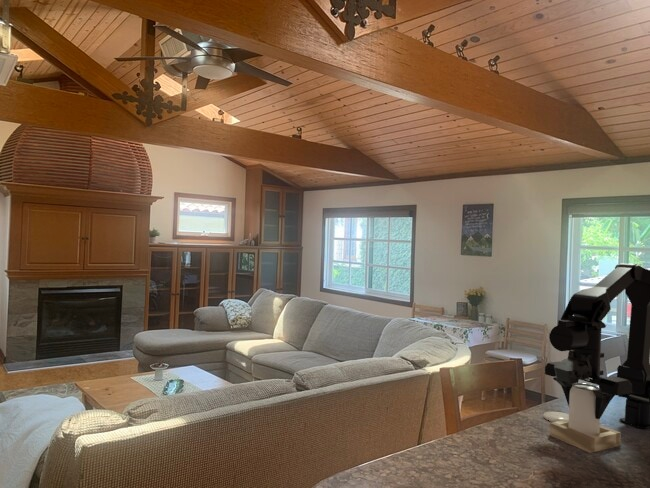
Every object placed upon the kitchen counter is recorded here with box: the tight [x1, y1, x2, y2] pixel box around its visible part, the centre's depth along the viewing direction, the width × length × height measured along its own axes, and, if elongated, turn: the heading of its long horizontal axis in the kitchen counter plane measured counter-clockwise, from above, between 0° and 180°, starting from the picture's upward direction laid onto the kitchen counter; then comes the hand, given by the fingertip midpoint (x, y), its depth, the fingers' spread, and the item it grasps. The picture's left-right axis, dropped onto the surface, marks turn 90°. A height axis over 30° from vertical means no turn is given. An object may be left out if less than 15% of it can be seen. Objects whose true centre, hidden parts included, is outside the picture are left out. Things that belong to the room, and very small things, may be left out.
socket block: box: [549, 419, 622, 454], centre depth 116 cm, size 10×10×3 cm
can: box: [568, 382, 601, 436], centre depth 116 cm, size 6×6×12 cm
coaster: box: [543, 411, 569, 423], centre depth 130 cm, size 8×8×1 cm
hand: (584, 413), depth 116 cm, fingers closed on can, 6 cm apart
